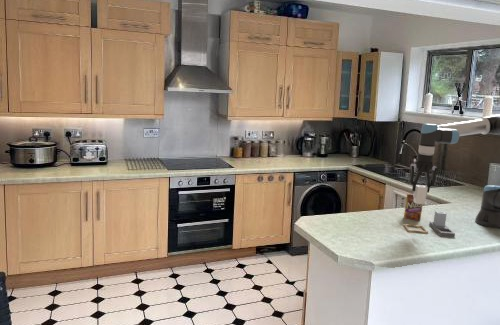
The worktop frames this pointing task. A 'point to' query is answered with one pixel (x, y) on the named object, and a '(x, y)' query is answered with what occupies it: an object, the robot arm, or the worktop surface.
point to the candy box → (412, 208)
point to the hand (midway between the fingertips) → (419, 197)
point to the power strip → (442, 230)
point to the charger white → (420, 194)
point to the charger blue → (439, 218)
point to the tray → (415, 230)
